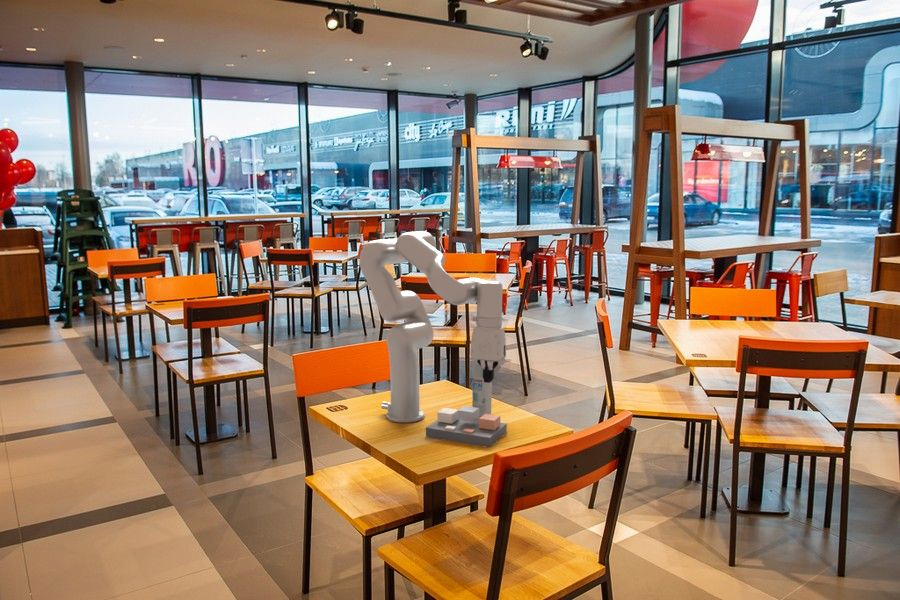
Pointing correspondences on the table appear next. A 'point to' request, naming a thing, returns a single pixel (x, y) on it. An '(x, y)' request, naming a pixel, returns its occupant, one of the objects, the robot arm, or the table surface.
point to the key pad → (465, 432)
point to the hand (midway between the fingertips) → (488, 381)
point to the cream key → (447, 415)
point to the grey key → (468, 413)
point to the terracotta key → (489, 421)
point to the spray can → (481, 390)
